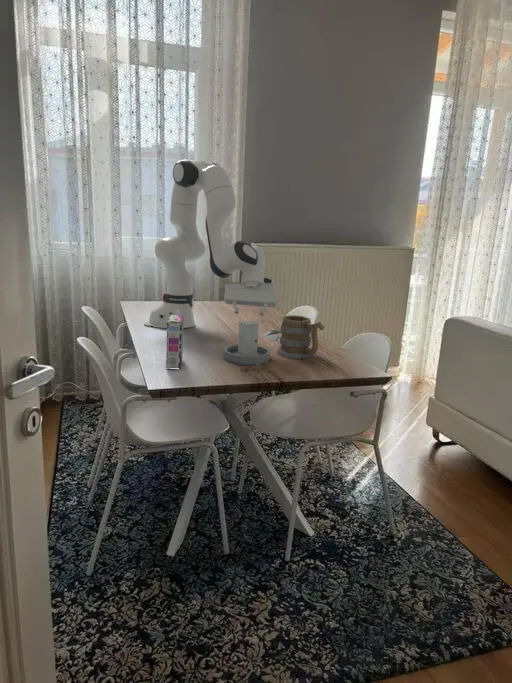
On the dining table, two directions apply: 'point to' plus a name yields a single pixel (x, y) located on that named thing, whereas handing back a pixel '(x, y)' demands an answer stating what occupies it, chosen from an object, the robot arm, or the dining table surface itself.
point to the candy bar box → (174, 341)
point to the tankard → (298, 337)
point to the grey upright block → (248, 338)
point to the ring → (273, 337)
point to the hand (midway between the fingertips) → (249, 313)
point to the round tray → (234, 357)
